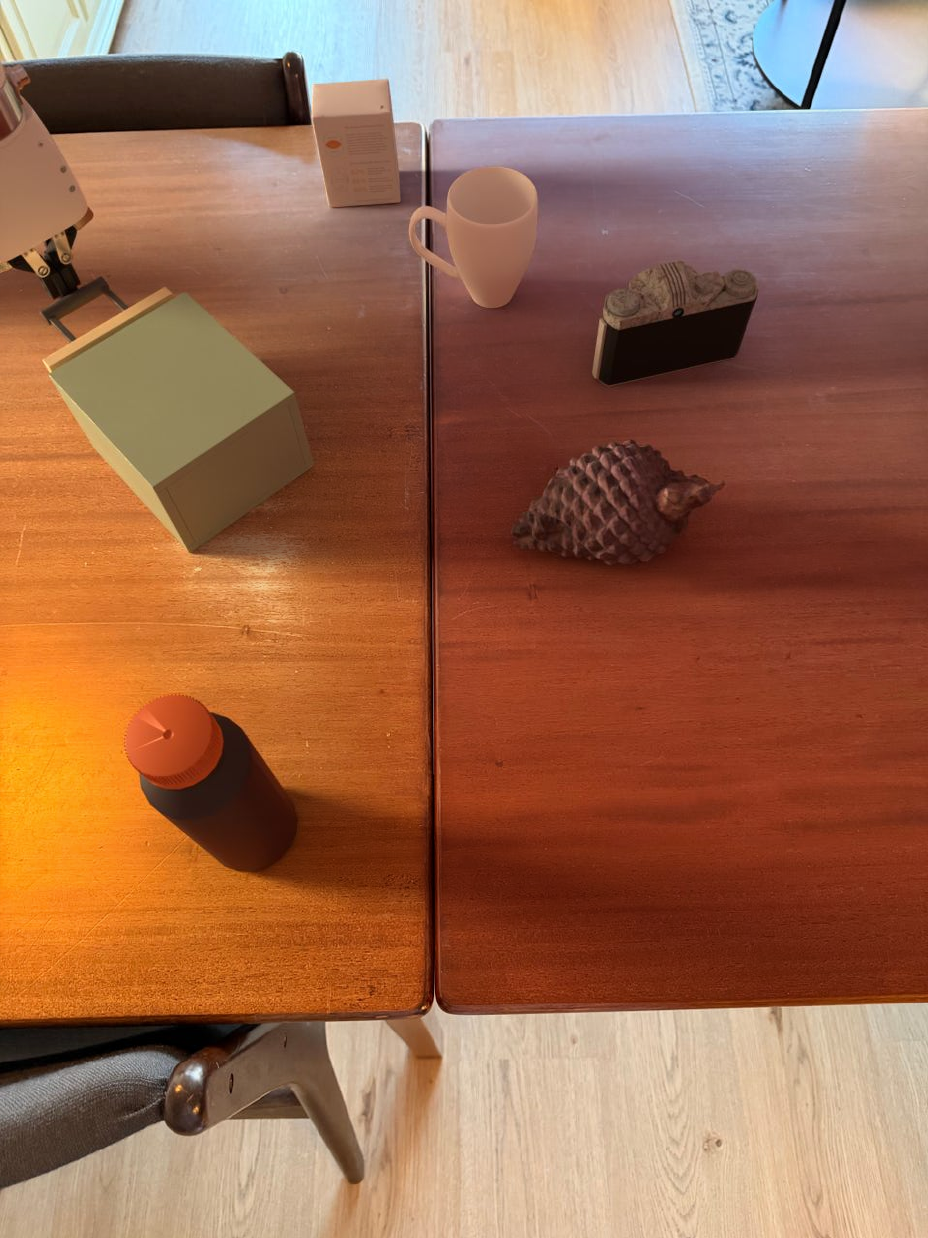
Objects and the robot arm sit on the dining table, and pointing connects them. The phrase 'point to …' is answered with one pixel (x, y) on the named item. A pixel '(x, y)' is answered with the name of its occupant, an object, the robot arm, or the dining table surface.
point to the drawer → (101, 332)
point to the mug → (485, 232)
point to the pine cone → (613, 506)
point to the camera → (672, 322)
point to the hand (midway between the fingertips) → (68, 296)
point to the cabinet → (187, 419)
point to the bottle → (210, 782)
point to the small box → (356, 142)
